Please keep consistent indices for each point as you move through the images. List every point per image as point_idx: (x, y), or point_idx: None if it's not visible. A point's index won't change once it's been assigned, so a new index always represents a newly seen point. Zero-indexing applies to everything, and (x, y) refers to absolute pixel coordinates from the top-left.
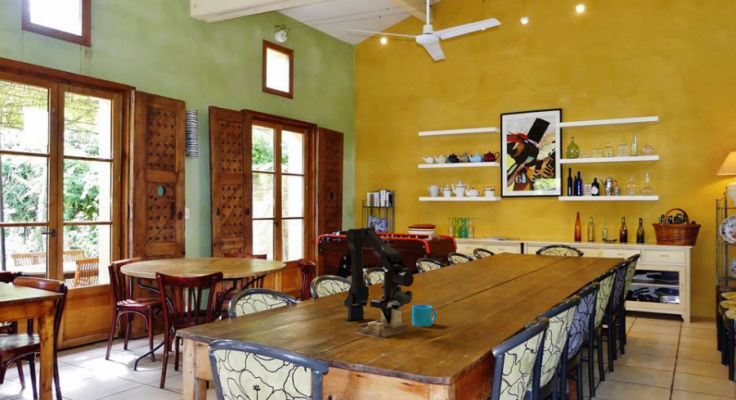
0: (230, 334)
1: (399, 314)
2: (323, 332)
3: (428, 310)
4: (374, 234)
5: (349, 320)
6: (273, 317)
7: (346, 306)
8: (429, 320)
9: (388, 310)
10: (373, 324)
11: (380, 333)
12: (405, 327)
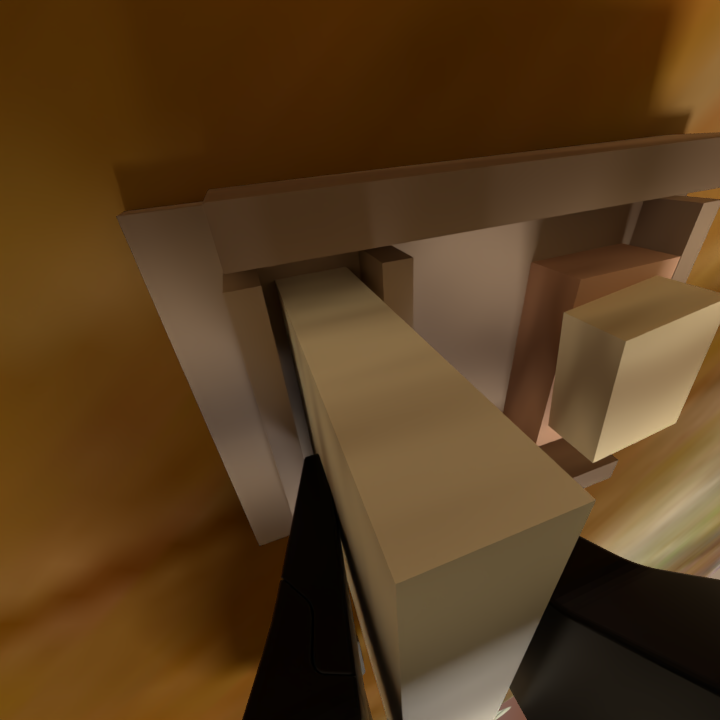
0: (713, 542)
1: (433, 424)
2: (605, 503)
3: None
4: None
5: (362, 658)
6: None
7: None
8: None
9: (661, 580)
10: (693, 360)
11: (610, 253)
12: (270, 190)
